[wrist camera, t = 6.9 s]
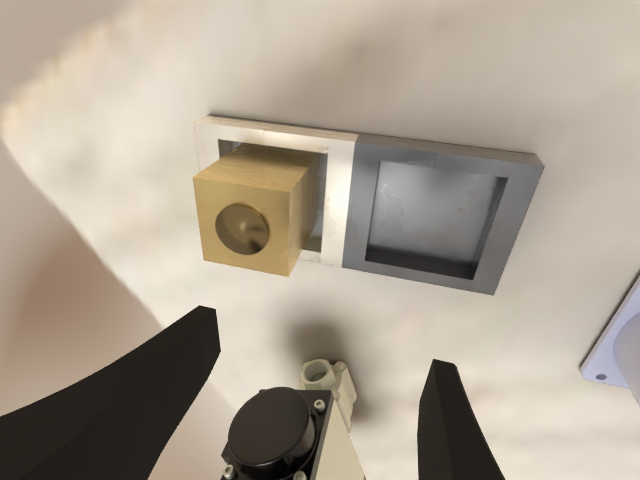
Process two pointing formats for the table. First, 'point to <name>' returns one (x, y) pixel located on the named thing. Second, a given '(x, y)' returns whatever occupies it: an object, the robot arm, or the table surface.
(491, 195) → the tray
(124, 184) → the table surface
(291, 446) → the pneumatic valve
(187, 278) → the table surface
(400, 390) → the table surface
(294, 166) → the brass cube with hole
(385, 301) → the table surface
